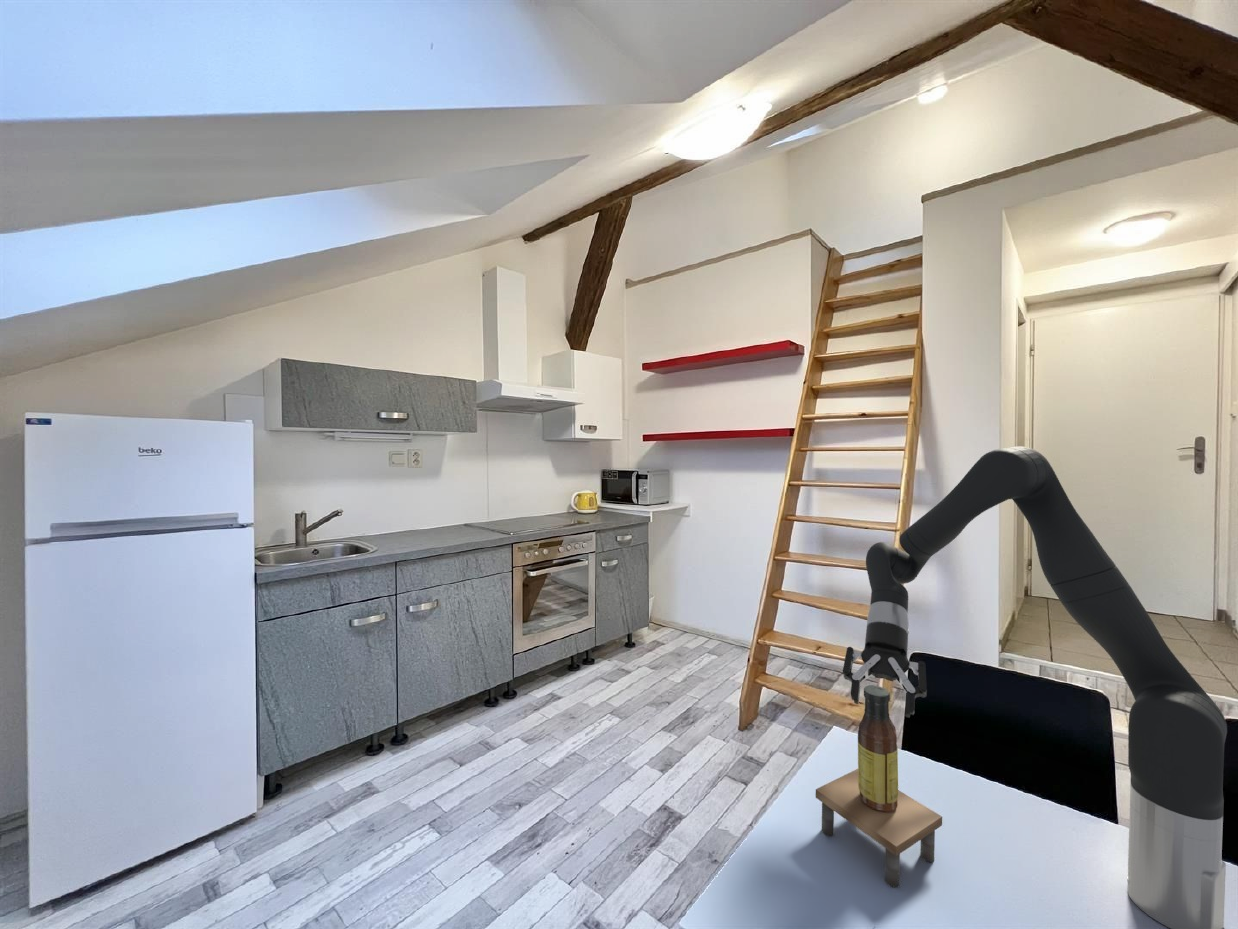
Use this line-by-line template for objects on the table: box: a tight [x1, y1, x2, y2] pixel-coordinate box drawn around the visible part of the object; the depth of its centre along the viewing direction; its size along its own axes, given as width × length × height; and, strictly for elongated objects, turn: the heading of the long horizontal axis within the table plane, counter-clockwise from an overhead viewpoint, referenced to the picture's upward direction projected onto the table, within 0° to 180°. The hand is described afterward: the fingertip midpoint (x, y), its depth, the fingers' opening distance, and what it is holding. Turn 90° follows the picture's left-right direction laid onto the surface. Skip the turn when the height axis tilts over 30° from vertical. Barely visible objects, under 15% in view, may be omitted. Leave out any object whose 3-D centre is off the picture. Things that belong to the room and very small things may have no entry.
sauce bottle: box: [857, 684, 899, 812], centre depth 87 cm, size 7×6×20 cm
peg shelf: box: [815, 768, 943, 889], centre depth 87 cm, size 15×13×8 cm
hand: (881, 709), depth 93 cm, fingers open, 8 cm apart
